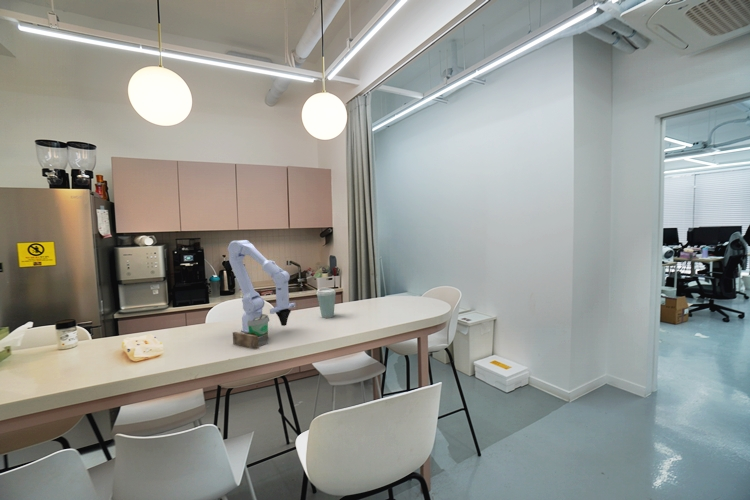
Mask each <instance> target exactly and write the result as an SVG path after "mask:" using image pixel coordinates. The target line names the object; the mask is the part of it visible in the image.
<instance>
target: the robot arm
mask: <svg viewBox="0 0 750 500" xmlns="http://www.w3.org/2000/svg"><path fill="white" fill-rule="evenodd" d="M227 246H228V247H227V251H228V261H229V264H230V266H231V269H232V272H233V274H234V276H235V278H236V280H237V283H238V285H239V288H240V291H241V292H242V298H241V302H242V310H243V311H244V313H243V314H242V316H241V324H242V329H241V332H244V333H246V332H249V327H248V326H247V325H248V321H253V320H254V319H255V318H258V317H260V316H261V314H263V308H264V307H265V303H266V302H265V300H264V298H263V297H262V296H261V295H260V293H259V292H257V291H256V290H255V288H254V285H253V283H252V281H251V278H250V277H249V274H248V272H247V268H246V266H245V264H244V258H245V257H246V256H250V258H252V259H253V260H255V262H257V263H259V265H262V266H261V267H262V270H263V271H264V272H265V273H266V274H267V275H268V276H270V277H271V278H272V281H273V283H274V286H275V299H276V300H275V303H276V306H275V307H272V308H269V314H271V315H273V314H276V316H277V318H278V319H279V322H280V325H281V326H283V327H285V326H287V324H288V319H289V316H290V314H291V312H292V311H291V309H292V308H296V302H291V303H290V298H289V281H290V278H291V276H290V273H289V272H288V271H287V270H283V268H281V267H280V266H278V265H277V264H276V262H275V260H271V259H269V260H268V259H267V257H265V256H264V255H263V254H262V253H261V252H260V251H259V250H258V249H257V248H256V247H255V245H254V244H253V243H251V241H249V240H247V239H241V240H231V241H230V242H229V245H227Z"/></svg>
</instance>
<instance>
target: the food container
mask: <svg viewBox="0 0 750 500" xmlns="http://www.w3.org/2000/svg"><path fill="white" fill-rule="evenodd" d="M270 320H271V319H270V317H269V315H268V314H265V313H262V314H261V316H260V317H258V318H255V319H254V320H253V321H248V325H247V326H248V327H249V334H250V335H256V336H258V337H260V336H262V335H267V340H268V339H269V335H268V334H269V322H270Z"/></svg>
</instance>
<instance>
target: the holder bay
mask: <svg viewBox="0 0 750 500" xmlns="http://www.w3.org/2000/svg"><path fill="white" fill-rule="evenodd" d="M232 344H233V345H236V346H240V347H245V348H251V349H254V350H257V349H259V347H261V346H263V345H266V344H268V339H267V335H262V336H260V337H258V336H256V335H250V334H249V332H244V333H243V332H238V331H234V332H232Z"/></svg>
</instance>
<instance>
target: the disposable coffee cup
mask: <svg viewBox="0 0 750 500" xmlns="http://www.w3.org/2000/svg"><path fill="white" fill-rule="evenodd" d="M336 293H337V292H336V290H335V289H334V288H330V287H329V288H328V287H321V288H319V289H317V290H316V296H317V300H318V305H319V310H320V315H321V318H324V319H328V318H333V317H334V315H335V304H336V295H337V294H336Z"/></svg>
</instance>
